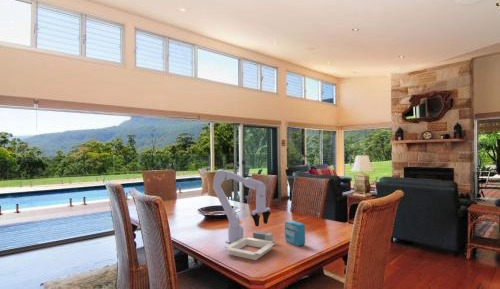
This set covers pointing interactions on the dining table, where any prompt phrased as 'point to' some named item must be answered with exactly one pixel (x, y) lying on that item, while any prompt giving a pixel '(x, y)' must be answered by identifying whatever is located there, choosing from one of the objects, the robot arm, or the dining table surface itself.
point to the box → (263, 236)
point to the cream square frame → (263, 244)
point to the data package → (295, 233)
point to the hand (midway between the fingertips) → (261, 224)
